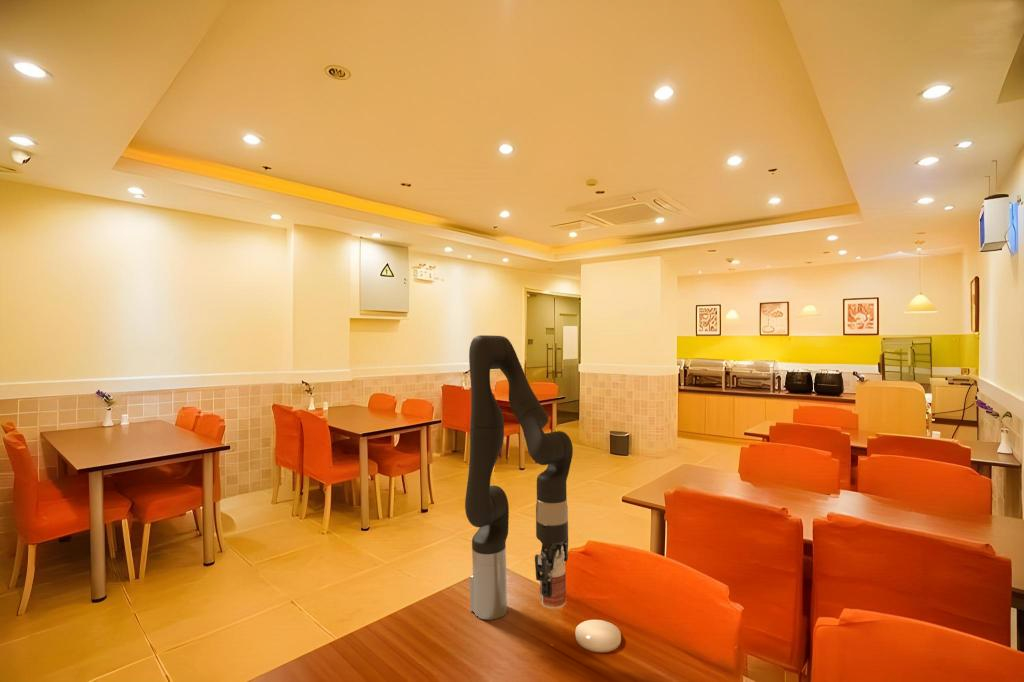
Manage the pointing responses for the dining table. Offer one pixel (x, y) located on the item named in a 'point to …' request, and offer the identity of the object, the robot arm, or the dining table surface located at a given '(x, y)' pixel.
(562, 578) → the pill bottle
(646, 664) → the dining table surface
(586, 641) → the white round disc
